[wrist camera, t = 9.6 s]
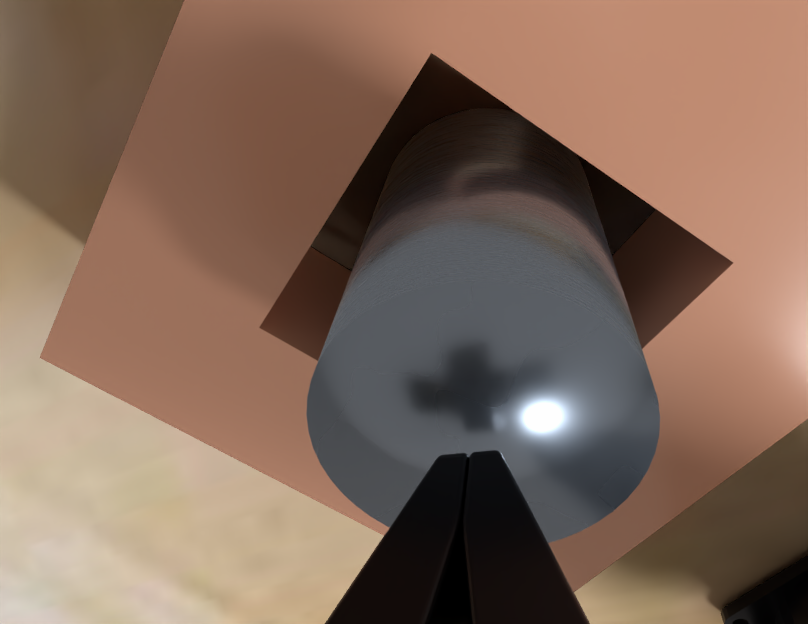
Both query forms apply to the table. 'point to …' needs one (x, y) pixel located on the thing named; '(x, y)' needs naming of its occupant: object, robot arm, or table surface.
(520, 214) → the steel peg
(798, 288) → the hub block
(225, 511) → the table surface
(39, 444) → the table surface
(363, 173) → the table surface
